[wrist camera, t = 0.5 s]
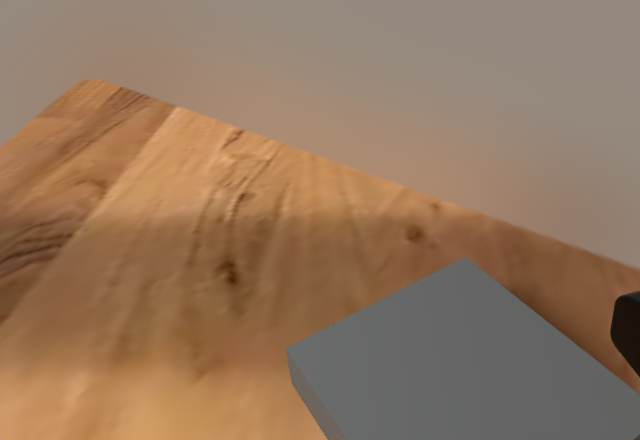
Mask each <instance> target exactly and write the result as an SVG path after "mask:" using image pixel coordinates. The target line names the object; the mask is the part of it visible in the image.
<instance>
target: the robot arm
mask: <svg viewBox="0 0 640 440" xmlns="http://www.w3.org/2000/svg"><path fill="white" fill-rule="evenodd" d="M610 335H611V339H612V342H613V343H614V345H615V347H616V348H617V349H618V351H619V352H620V353H621V354H622V356H623V357H624V358H625V359H626V361H627V362H628V363H629V365H630V366H631V367H632V368H633V370H634V371H635V372H636V373H637V375H638V376H639V377H640V291H636V292H632V293H628V294H625V295H622V296H620V297H618V298H617V300H616V302H615V306H614V312H613V318H612V323H611V329H610Z"/></svg>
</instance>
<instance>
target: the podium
mask: <svg viewBox="0 0 640 440" xmlns="http://www.w3.org/2000/svg"><path fill="white" fill-rule="evenodd" d="M286 351H287V357H288V363H289V369H290V375H291V380H292V384H293V385H294V387H295V388H296V390H297V392H298V393H299V395H300V396H301V398H302V399H303V401H304V403H305V404H306V406H307V407H308V409H309V410H310V412H311V414H312V415H313V417H314V418H315V420H316V421H317V423H318V425H319V426H320V428H321V429H322V431H323V432H324V434H325V436H326V437H327V439H328V440H640V394H638V393H637V392H636V391H635V390H633V389H632V388H631V387H630V386H628V385H627V384H626V383H625V382H623V381H622V380H621V379H620V378H618V377H617V376H616V375H614V374H613V373H612V372H611V371H609V370H608V369H607V368H606V367H604V366H603V365H602V364H601V363H599V362H598V361H597V360H595V359H594V358H593V357H592V356H590V355H589V354H588V353H587V352H585V351H584V350H583V349H582V348H580V347H579V346H578V345H577V344H575V343H574V342H573V341H571V340H570V339H569V338H568V337H566V336H565V335H564V334H563V333H561V332H560V331H559V330H558V329H556V328H555V327H554V326H552V325H551V324H550V323H549V322H547V321H546V320H545V319H544V318H542V317H541V316H540V315H539V314H537V313H536V312H535V311H534V310H532V309H531V308H530V307H528V306H527V305H526V304H525V303H523V302H522V301H521V300H520V299H518V298H517V297H516V296H515V295H513V294H512V293H511V292H509V291H508V290H507V289H506V288H504V287H503V286H502V285H501V284H499V283H498V282H497V281H496V280H494V279H493V278H492V277H491V276H489V275H488V274H487V273H485V272H484V271H483V270H482V269H480V268H479V267H478V266H477V265H475V264H474V263H473V262H472V261H470V260H469V259H468V258H467V257H464V258H462V259H460V260H458V261H456V262H454V263H452V264H450V265H448V266H446V267H444V268H442V269H440V270H438V271H436V272H434V273H432V274H430V275H428V276H426V277H425V278H423V279H421V280H419V281H417V282H415V283H413V284H411V285H409V286H407V287H405V288H403V289H401V290H399V291H397V292H395V293H393V294H391V295H389V296H387V297H385V298H383V299H381V300H379V301H377V302H375V303H373V304H371V305H370V306H368V307H366V308H364V309H362V310H360V311H358V312H356V313H354V314H352V315H350V316H348V317H346V318H344V319H342V320H340V321H338V322H336V323H334V324H332V325H330V326H328V327H326V328H324V329H322V330H320V331H318V332H316V333H315V334H313V335H311V336H309V337H307V338H305V339H303V340H301V341H299V342H297V343H295V344H293V345H291V346H289V347H287V348H286Z"/></svg>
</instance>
